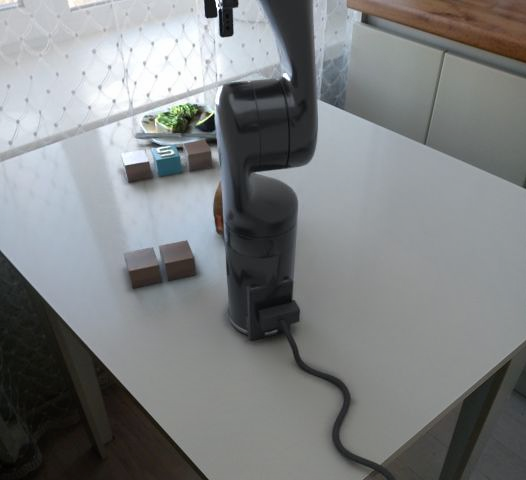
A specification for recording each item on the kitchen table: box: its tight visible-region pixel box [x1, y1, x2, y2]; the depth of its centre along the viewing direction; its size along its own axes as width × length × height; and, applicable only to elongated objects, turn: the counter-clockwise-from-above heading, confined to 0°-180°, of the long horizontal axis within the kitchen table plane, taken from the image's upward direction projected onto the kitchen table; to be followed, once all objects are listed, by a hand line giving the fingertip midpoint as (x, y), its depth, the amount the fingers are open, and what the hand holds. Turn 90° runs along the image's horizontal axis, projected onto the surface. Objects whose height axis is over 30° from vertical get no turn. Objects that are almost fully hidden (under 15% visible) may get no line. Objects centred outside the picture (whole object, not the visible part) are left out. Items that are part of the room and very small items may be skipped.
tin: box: [212, 180, 224, 236], centre depth 94 cm, size 15×3×8 cm, turn 168°
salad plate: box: [134, 101, 217, 148], centre depth 116 cm, size 19×18×5 cm
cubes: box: [120, 140, 213, 183], centre depth 107 cm, size 5×17×4 cm, turn 109°
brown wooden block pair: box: [123, 239, 197, 289], centre depth 86 cm, size 5×10×4 cm, turn 109°
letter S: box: [151, 145, 183, 177], centre depth 107 cm, size 5×5×4 cm
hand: (218, 26), depth 87 cm, fingers open, 8 cm apart
